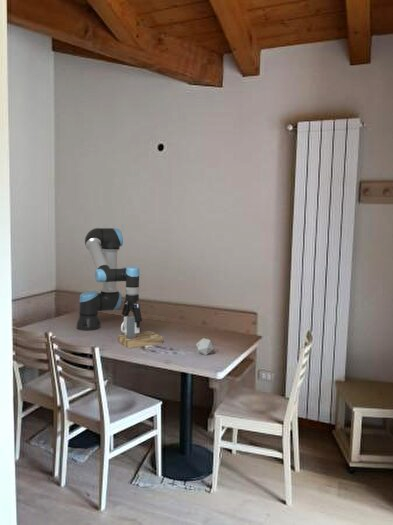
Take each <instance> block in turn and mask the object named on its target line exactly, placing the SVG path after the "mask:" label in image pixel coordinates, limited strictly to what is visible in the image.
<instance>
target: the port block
mask: <svg viewBox="0 0 393 525" xmlns="http://www.w3.org/2000/svg"><path fill="white" fill-rule="evenodd" d="M126 337H127V334H126V335H125V334H120V335H118V336H117V343H118V342H119V344H120V345H122V346H123V347H125V348H127V349H135V348H140V347H141V346H142V347H146V346H147V345H148V346H153V345H158V344H160V345H161V344H163V343H164V342H163V341H164V340H163V338H164V337H163V336H162V335H160V334H158V333H156V332H154V331H151V330H148V331H141V332H140V331H139V333H136V338H133V339H128V338H126ZM148 346H147V347H148Z"/></svg>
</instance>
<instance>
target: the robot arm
mask: <svg viewBox="0 0 393 525" xmlns="http://www.w3.org/2000/svg"><path fill="white" fill-rule="evenodd" d="M123 238H124V237H123V234H122V231H121V230H120V229H119V228H115V227H114V228H113V227H112V228H110V227H103V228H102V227H97V228H96V227H95V228H93V229H91V230H90V231H88V233H87V234H86V236H85V238H84V244H85V248H86V249H87V250H88V251H89V253H90V256H91V259H92V260H93V264H94V266H95V271H94V279H95V281H96V282H97V283H102V284H103V285H102V288H101V289H100V292H98V291H97V290H89V291H84V292H82V293H80V295H79V301H78V302H79V304H78V305H79V309H78V310H79V316H78V319H77V322H76V329H77V330H80V331H94V330H95V331H96V330H98V329H100V328H101V321H100V318H99V313H98V312H103V311H105V312H106V311H116V310H118V309H120V307H121V304H122V294H121V292H120V290H119V289H118V288H117V282H118V283H119V282H125V289H124V290H125V300H124V304H123V308H122V311H121V315H122V316H123V322H124V325H123V329H124V328H127V317H129V314H130V312H132V314H133V315H132V316H134V318H135V333H140V326H141V325H140V323H141V322H143V318H142V313H141V308H140V306H141V304H140V303H137V302H138V301H139V298H140V296H139V293H140V275H141V274H140V268H139V267H137V266H127V267H121V268H117V267H118V251H120V247H123V244H124V239H123Z"/></svg>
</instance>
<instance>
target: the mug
mask: <svg viewBox="0 0 393 525" xmlns="http://www.w3.org/2000/svg"><path fill="white" fill-rule="evenodd" d="M120 331H121V333H122V334H123V335H126V334H127V328H124V321H122V323H121V325H120Z"/></svg>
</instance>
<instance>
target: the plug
mask: <svg viewBox="0 0 393 525" xmlns="http://www.w3.org/2000/svg"><path fill="white" fill-rule="evenodd" d="M128 316H129V315H128ZM126 338H128V339H133V338H136V333H135V318H134V315H130V316H129V317H127V337H126Z"/></svg>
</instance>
